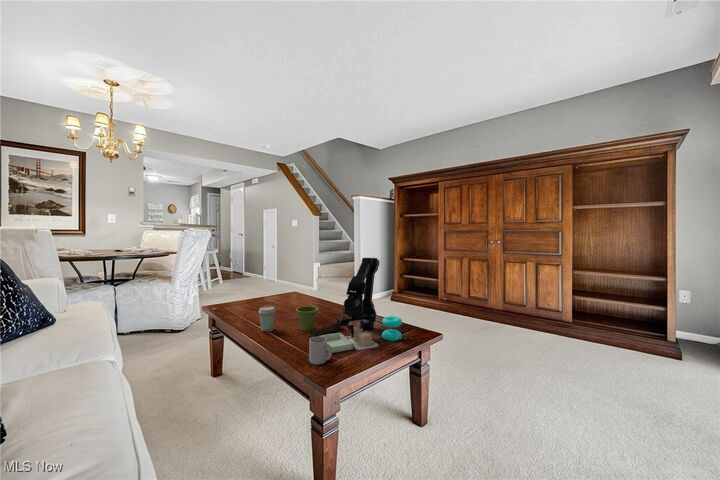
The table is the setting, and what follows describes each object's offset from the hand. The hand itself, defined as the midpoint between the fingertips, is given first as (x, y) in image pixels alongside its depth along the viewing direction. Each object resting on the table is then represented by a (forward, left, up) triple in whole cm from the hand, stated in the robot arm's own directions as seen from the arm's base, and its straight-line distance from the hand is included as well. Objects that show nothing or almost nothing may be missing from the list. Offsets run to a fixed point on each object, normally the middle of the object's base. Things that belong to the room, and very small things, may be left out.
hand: (356, 337), depth 150 cm
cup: (+24, +16, -2) cm, 28 cm away
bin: (+12, +3, -2) cm, 12 cm away
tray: (0, +5, -2) cm, 5 cm away
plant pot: (+18, -25, -2) cm, 31 cm away
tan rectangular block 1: (0, 0, -1) cm, 1 cm away
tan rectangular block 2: (0, +9, -1) cm, 9 cm away
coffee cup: (+38, -32, -2) cm, 50 cm away
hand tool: (+10, -16, -2) cm, 19 cm away
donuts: (-17, +5, -2) cm, 18 cm away
